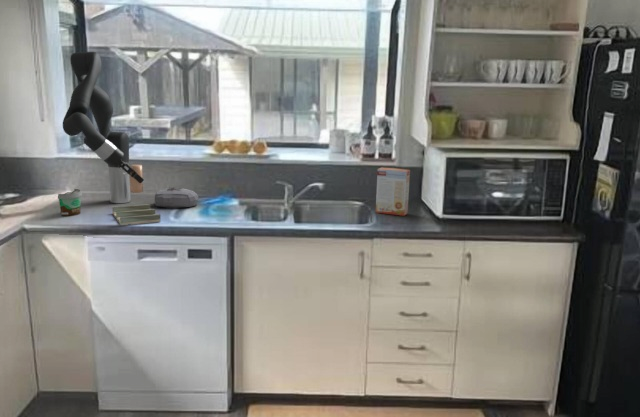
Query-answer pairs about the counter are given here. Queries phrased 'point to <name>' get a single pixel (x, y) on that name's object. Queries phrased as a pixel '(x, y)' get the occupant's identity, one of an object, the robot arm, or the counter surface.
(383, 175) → the cracker box
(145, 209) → the comb board
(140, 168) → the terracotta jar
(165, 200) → the soft grey pack
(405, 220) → the counter surface
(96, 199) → the counter surface
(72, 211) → the food container
